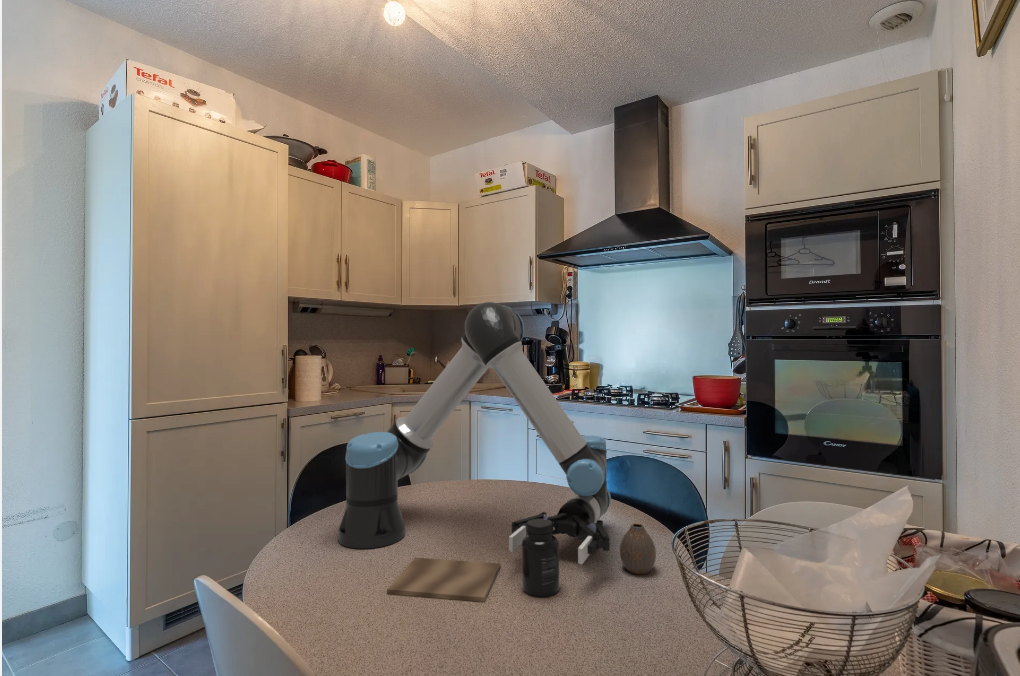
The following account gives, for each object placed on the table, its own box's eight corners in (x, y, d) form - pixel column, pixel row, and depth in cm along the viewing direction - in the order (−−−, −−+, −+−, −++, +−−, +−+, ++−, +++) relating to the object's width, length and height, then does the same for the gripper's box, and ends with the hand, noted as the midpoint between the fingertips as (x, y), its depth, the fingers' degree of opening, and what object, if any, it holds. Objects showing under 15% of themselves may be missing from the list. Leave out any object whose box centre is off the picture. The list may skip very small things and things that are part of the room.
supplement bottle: (559, 580, 96) (558, 516, 96) (559, 598, 89) (558, 529, 89) (523, 579, 96) (522, 516, 97) (520, 597, 90) (519, 528, 90)
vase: (657, 579, 96) (657, 532, 96) (620, 576, 97) (619, 530, 98) (654, 563, 103) (654, 520, 103) (619, 561, 104) (619, 518, 104)
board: (386, 593, 91) (386, 589, 91) (415, 561, 105) (415, 557, 105) (484, 602, 88) (484, 597, 88) (500, 567, 102) (500, 563, 102)
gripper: (636, 540, 107) (612, 583, 88) (527, 524, 117) (484, 559, 98) (635, 505, 107) (611, 539, 88) (526, 491, 118) (484, 520, 98)
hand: (544, 550), depth 93 cm, fingers open, 13 cm apart
